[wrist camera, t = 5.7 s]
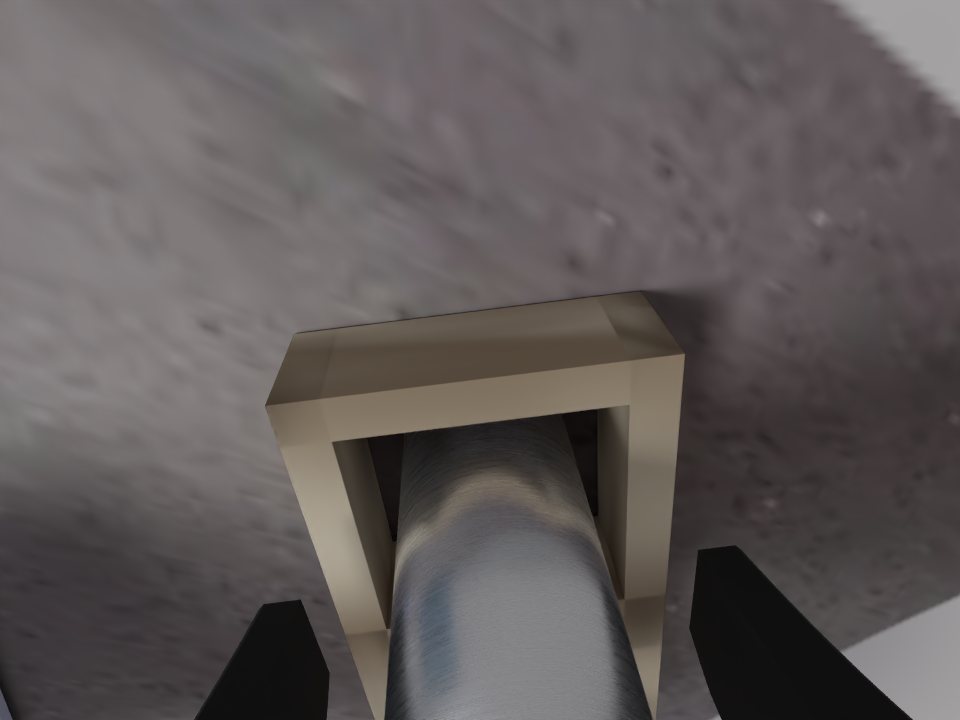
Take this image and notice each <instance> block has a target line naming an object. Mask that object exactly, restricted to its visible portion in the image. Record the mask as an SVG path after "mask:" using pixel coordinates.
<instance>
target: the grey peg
mask: <svg viewBox="0 0 960 720" xmlns="http://www.w3.org/2000/svg"><path fill="white" fill-rule="evenodd" d="M384 720H653V718H652V714H651V711H650V708H649V704H648V701H647V698H646V694H645V691H644V688H643V684H642V681H641V678H640V674H639V671H638V668H637V664H636V661H635V657H634V654H633V651H632V647H631V644H630V641H629V637H628V634H627V631H626V627H625V624H624V621H623V617H622V614H621V611H620V607H619V604H618V601H617V597H616V594H615V590H614V587H613V584H612V580H611V577H610V574H609V570H608V567H607V564H606V560H605V557H604V554H603V550H602V547H601V544H600V540H599V537H598V534H597V530H596V527H595V523H594V520H593V517H592V513H591V510H590V507H589V503H588V500H587V497H586V493H585V490H584V487H583V483H582V480H581V477H580V473H579V470H578V467H577V463H576V460H575V456H574V453H573V450H572V446H571V443H570V440H569V436H568V433H567V430H566V426H565V423H564V420H563V416H562V413H559V414H551V415H543V416H535V417H527V418H519V419H511V420H503V421H495V422H487V423H479V424H471V425H463V426H454V427H446V428H438V429H430V430H422V431H414V432H406V433H404V446H403V460H402V475H401V489H400V503H399V517H398V531H397V546H396V560H395V574H394V588H393V603H392V617H391V631H390V645H389V660H388V674H387V688H386V702H385V717H384Z"/></svg>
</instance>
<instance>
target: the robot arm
mask: <svg viewBox="0 0 960 720" xmlns="http://www.w3.org/2000/svg"><path fill="white" fill-rule="evenodd" d="M690 632H691V635H692V638H693V641H694V645H695V648H696V651H697V654H698V657H699V661H700V664H701V667H702V670H703V673H704V676H705V679H706V682H707V685H708V688H709V691H710V694H711V696H712V698H713V701H714V703H715V705H716V708H717V710H718V712H719V715H720V717H721V719H722V720H913V719H912V718H910V717H909V716H908V715H907V714H906V713H905V712H904V711H903V710H901V709H900V708H899V707H898V706H897V705H896V704H895V703H894V702H893V701H891V700H890V699H889V698H888V697H887V696H886V695H885V694H884V693H883V692H882V691H880V690H879V689H878V688H877V687H876V686H875V685H874V684H873V683H872V682H871V681H870V680H869V679H868V678H866V677H865V676H864V675H863V674H862V673H861V672H860V671H859V670H858V669H857V668H856V667H855V666H854V665H853V664H852V663H851V662H850V661H849V660H848V659H847V658H846V657H845V656H844V655H843V654H842V653H841V652H840V651H838V650H837V649H836V648H835V647H834V646H833V645H832V644H831V643H830V642H829V641H828V640H827V639H826V638H825V637H824V636H823V635H822V634H821V633H820V632H819V631H818V630H817V629H816V628H815V627H814V626H813V625H812V624H811V623H810V622H809V621H808V620H807V619H806V618H805V617H804V616H803V615H802V614H801V613H800V612H799V611H798V610H797V609H796V608H795V607H794V606H793V604H792V603H791V602H790V601H789V600H788V599H787V598H786V597H785V596H784V595H783V594H782V593H781V592H780V591H779V590H778V589H777V588H776V587H775V586H774V585H773V584H772V583H771V581H770V580H769V579H768V578H767V577H766V576H765V575H764V574H763V573H762V572H761V571H760V570H759V569H758V568H757V566H756V565H755V564H754V563H753V562H752V561H751V560H750V559H749V558H748V557H747V556H746V555H745V553H744V552H743V551H742V550H741V549H739V548H738V547H737V546H736V545H734V546H726V547H718V548H710V549H702V550H698V558H697V567H696V576H695V584H694V593H693V602H692V610H691V619H690ZM329 675H330V673H329V671H328V668H327V665H326V663H325V660H324V658H323V655H322V653H321V650H320V648H319V645H318V642H317V640H316V637H315V635H314V632H313V630H312V627H311V625H310V622H309V619H308V617H307V614H306V612H305V609H304V607H303V604H302V602H301V600H294V601H286V602H278V603H270V604H264V605H263V606H262V607H261V608H260V609H259V611H258V613H257V614H256V616H255V618H254V620H253V621H252V623H251V625H250V627H249V628H248V630H247V632H246V634H245V635H244V637H243V639H242V641H241V642H240V644H239V646H238V648H237V649H236V651H235V653H234V655H233V656H232V658H231V660H230V661H229V663H228V665H227V666H226V668H225V670H224V672H223V673H222V675H221V677H220V678H219V680H218V682H217V683H216V685H215V687H214V688H213V690H212V692H211V693H210V695H209V697H208V698H207V700H206V701H205V703H204V705H203V706H202V708H201V709H200V711H199V713H198V714H197V716H196V717H195V719H194V720H326V719H327V706H328V691H329ZM0 720H12V717H11V715H10V712H9V710H8V707H7V705H6V702H5V700H4V697H3V694H2V692H1V689H0Z"/></svg>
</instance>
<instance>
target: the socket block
mask: <svg viewBox="0 0 960 720" xmlns="http://www.w3.org/2000/svg"><path fill="white" fill-rule="evenodd" d="M684 359H685V353H684V352H683V350H682V349H681V348H680V346H679V345H678V343H677V342H676V340H675V339H674V338H673V336H672V335H671V333H670V332H669V330H668V329H667V327H666V326H665V325H664V323H663V322H662V320H661V319H660V317H659V316H658V315H657V313H656V312H655V310H654V309H653V307H652V306H651V305H650V303H649V302H648V300H647V299H646V297H645V296H644V295H643V293H642V292H641V291H637V292H629V293H621V294H613V295H605V296H597V297H589V298H581V299H573V300H565V301H557V302H549V303H541V304H532V305H524V306H516V307H508V308H500V309H492V310H484V311H476V312H468V313H460V314H452V315H444V316H436V317H427V318H419V319H411V320H403V321H395V322H387V323H379V324H371V325H363V326H355V327H347V328H339V329H330V330H322V331H314V332H306V333H298V334H294V336H293V338H292V341H291V343H290V346H289V348H288V351H287V353H286V355H285V358H284V360H283V363H282V365H281V368H280V370H279V373H278V375H277V378H276V380H275V383H274V385H273V388H272V390H271V392H270V395H269V397H268V400H267V402H266V405H265V407H266V410H267V413H268V416H269V419H270V421H271V424H272V427H273V430H274V433H275V436H276V439H277V441H278V444H279V447H280V450H281V453H282V456H283V459H284V461H285V464H286V467H287V470H288V473H289V476H290V479H291V481H292V484H293V487H294V490H295V493H296V496H297V499H298V501H299V504H300V507H301V510H302V513H303V516H304V519H305V521H306V524H307V527H308V530H309V533H310V536H311V539H312V541H313V544H314V547H315V550H316V553H317V556H318V559H319V561H320V564H321V567H322V570H323V573H324V576H325V579H326V581H327V584H328V587H329V590H330V593H331V596H332V599H333V601H334V604H335V607H336V610H337V613H338V616H339V619H340V621H341V624H342V627H343V630H344V633H345V636H346V639H347V641H348V644H349V647H350V650H351V653H352V656H353V659H354V661H355V664H356V667H357V670H358V673H359V676H360V678H361V681H362V684H363V687H364V690H365V693H366V696H367V698H368V701H369V704H370V707H371V710H372V713H373V716H374V718H375V720H384V717H385V702H386V688H387V674H388V660H389V645H390V631H391V617H392V603H393V588H394V574H395V560H396V546H397V541H393V540H392V536H391V532H390V528H389V524H388V520H387V516H386V512H385V508H384V504H383V501H382V497H381V493H380V489H379V485H378V481H377V477H376V473H375V469H374V465H373V461H372V457H371V453H370V449H369V445H368V441H367V437H374V436H382V435H390V434H398V433H406V432H414V431H422V430H430V429H438V428H446V427H454V426H463V425H471V424H479V423H487V422H495V421H503V420H511V419H519V418H527V417H535V416H543V415H551V414H559V413H567V412H575V411H583V410H591V409H597V435H598V516H592V517H593V520H594V523H595V527H596V530H597V534H598V537H599V540H600V544H601V547H602V550H603V554H604V557H605V560H606V564H607V567H608V570H609V574H610V577H611V580H612V584H613V587H614V590H615V594H616V597H617V601H618V604H619V607H620V611H621V614H622V617H623V621H624V624H625V627H626V631H627V634H628V637H629V641H630V644H631V647H632V651H633V654H634V657H635V661H636V664H637V668H638V671H639V674H640V678H641V681H642V684H643V688H644V691H645V694H646V698H647V701H648V704H649V708H650V711H651V714H652V718H653V720H656V711H657V699H658V686H659V674H660V661H661V648H662V636H663V623H664V611H665V598H666V585H667V573H668V560H669V548H670V535H671V522H672V510H673V497H674V485H675V472H676V460H677V447H678V434H679V422H680V409H681V397H682V384H683V371H684Z"/></svg>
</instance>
